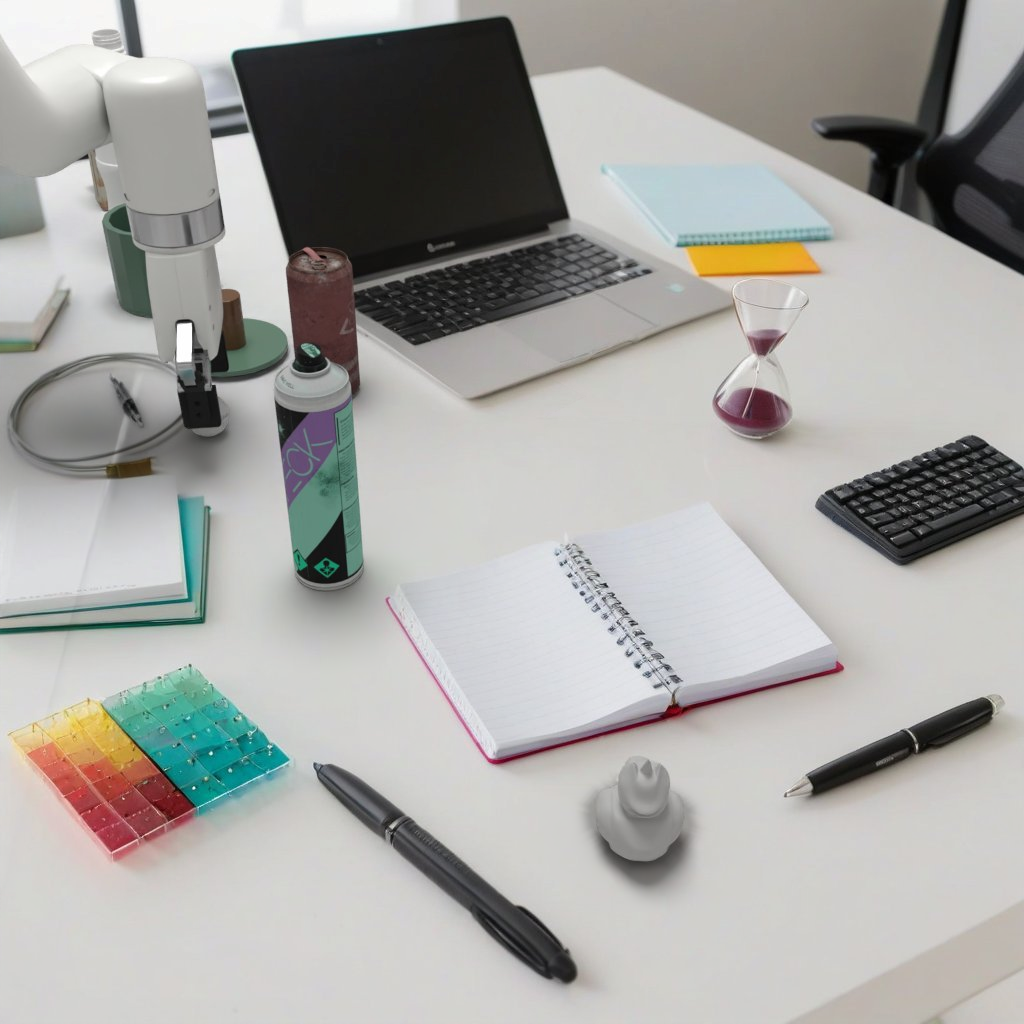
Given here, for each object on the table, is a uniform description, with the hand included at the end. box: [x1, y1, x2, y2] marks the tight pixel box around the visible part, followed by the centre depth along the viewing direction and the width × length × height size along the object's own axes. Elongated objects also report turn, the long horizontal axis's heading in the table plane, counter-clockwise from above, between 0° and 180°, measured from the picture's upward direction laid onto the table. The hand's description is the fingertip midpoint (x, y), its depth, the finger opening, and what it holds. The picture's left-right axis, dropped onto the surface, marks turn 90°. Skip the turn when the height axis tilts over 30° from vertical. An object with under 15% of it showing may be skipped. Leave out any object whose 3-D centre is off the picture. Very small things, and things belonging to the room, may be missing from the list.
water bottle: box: [91, 28, 128, 212], centre depth 132 cm, size 7×7×25 cm
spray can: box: [272, 343, 364, 592], centre depth 86 cm, size 6×6×20 cm
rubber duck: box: [594, 755, 685, 862], centre depth 70 cm, size 5×7×8 cm
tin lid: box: [201, 288, 289, 377], centre depth 118 cm, size 11×11×7 cm
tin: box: [101, 203, 153, 318], centre depth 127 cm, size 10×10×10 cm
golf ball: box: [190, 396, 230, 438], centre depth 106 cm, size 4×4×4 cm
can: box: [285, 246, 361, 397], centre depth 110 cm, size 6×6×14 cm
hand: (208, 397), depth 105 cm, fingers open, 9 cm apart
